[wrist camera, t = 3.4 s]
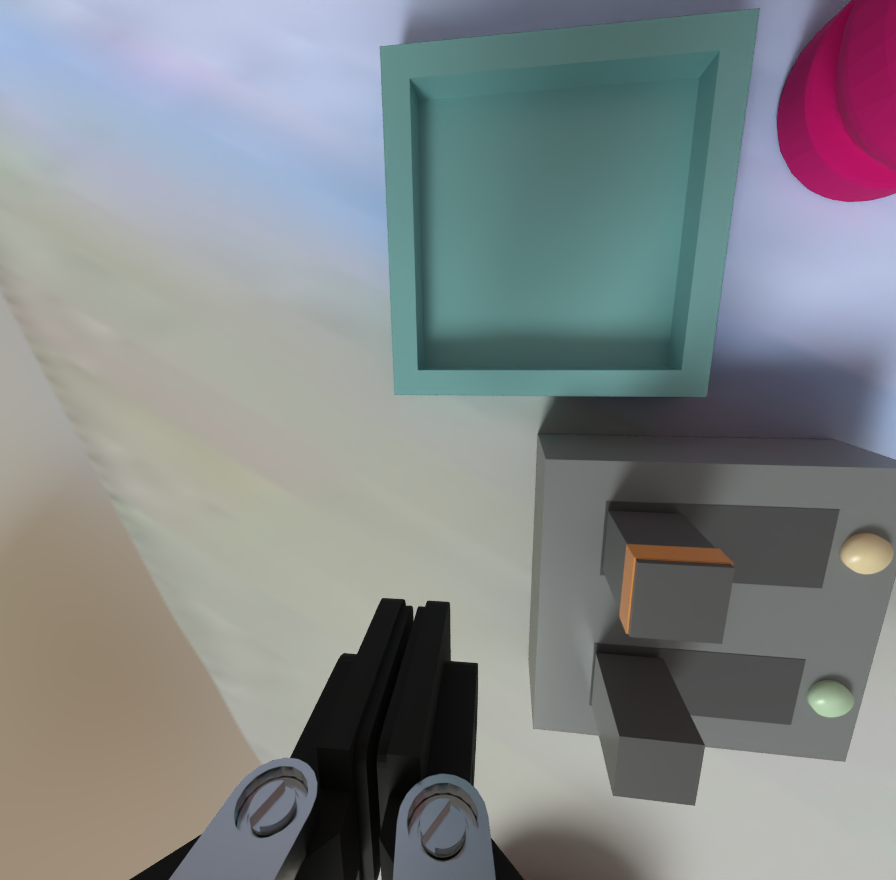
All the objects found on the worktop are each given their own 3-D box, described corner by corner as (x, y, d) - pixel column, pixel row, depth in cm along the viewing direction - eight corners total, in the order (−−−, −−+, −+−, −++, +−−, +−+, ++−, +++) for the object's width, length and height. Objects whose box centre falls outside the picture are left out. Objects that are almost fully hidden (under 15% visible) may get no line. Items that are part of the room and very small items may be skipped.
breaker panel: (833, 439, 18) (933, 471, 14) (781, 681, 21) (851, 769, 16) (537, 433, 19) (546, 461, 15) (528, 659, 22) (533, 735, 18)
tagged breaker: (683, 512, 15) (737, 566, 12) (675, 576, 16) (723, 646, 12) (606, 509, 15) (636, 560, 12) (601, 571, 16) (627, 638, 12)
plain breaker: (663, 658, 16) (704, 745, 13) (656, 709, 17) (694, 805, 14) (595, 653, 17) (619, 736, 13) (591, 703, 17) (612, 795, 14)
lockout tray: (727, 49, 15) (759, 8, 13) (685, 390, 18) (706, 397, 16) (394, 79, 17) (380, 46, 15) (405, 388, 20) (394, 394, 18)
